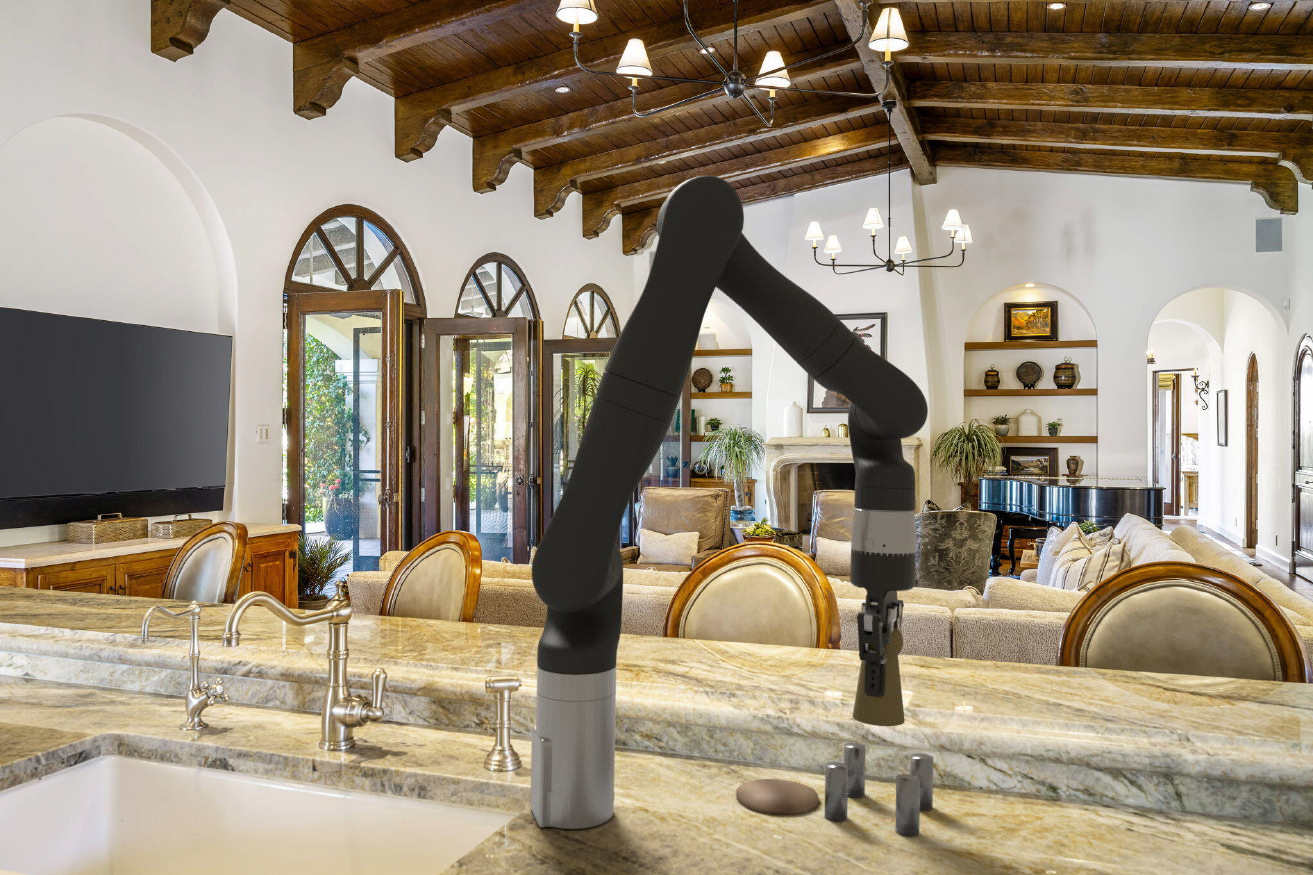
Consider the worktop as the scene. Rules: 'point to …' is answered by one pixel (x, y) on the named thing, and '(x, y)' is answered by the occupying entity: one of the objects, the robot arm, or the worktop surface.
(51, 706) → the worktop surface
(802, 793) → the smooth stone
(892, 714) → the brown tapered cylinder
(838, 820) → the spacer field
